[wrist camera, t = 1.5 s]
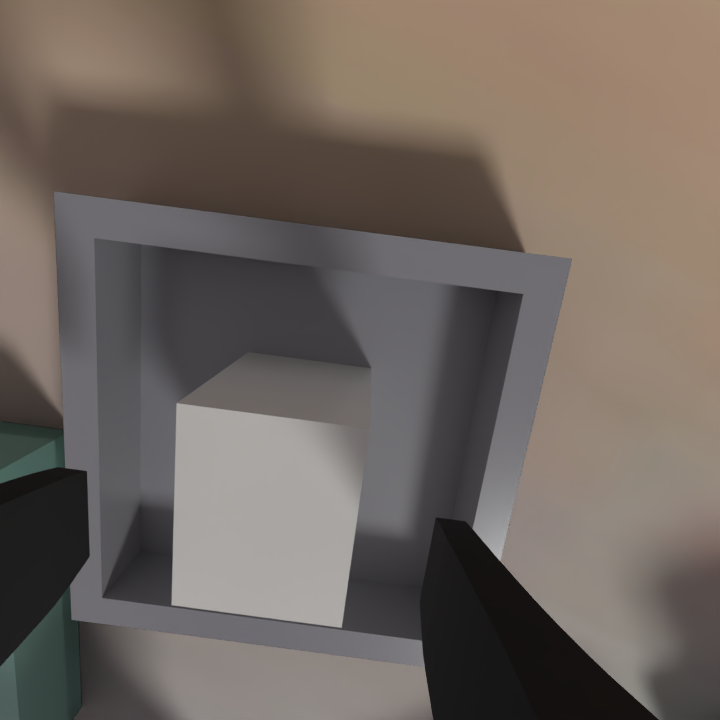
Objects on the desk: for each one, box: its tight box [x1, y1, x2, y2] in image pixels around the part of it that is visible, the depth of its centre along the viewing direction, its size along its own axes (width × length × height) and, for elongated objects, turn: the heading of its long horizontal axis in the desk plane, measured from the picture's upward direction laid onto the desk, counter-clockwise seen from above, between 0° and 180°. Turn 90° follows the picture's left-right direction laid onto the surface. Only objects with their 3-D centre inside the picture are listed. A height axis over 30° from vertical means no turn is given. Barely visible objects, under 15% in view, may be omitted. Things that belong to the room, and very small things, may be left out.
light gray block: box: [172, 352, 371, 628], centre depth 12 cm, size 5×4×5 cm
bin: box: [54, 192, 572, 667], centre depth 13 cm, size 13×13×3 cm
